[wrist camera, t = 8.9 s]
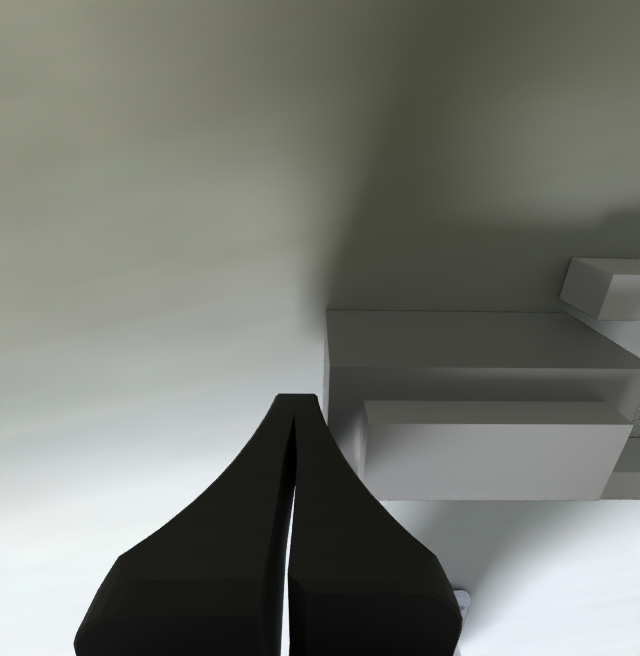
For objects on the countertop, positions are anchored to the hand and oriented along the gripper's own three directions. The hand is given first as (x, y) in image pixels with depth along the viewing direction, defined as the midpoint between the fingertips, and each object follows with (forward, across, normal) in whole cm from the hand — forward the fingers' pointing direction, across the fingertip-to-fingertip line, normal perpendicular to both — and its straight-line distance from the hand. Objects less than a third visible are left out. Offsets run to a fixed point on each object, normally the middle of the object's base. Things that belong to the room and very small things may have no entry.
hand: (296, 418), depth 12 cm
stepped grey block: (+3, -6, 0) cm, 6 cm away
